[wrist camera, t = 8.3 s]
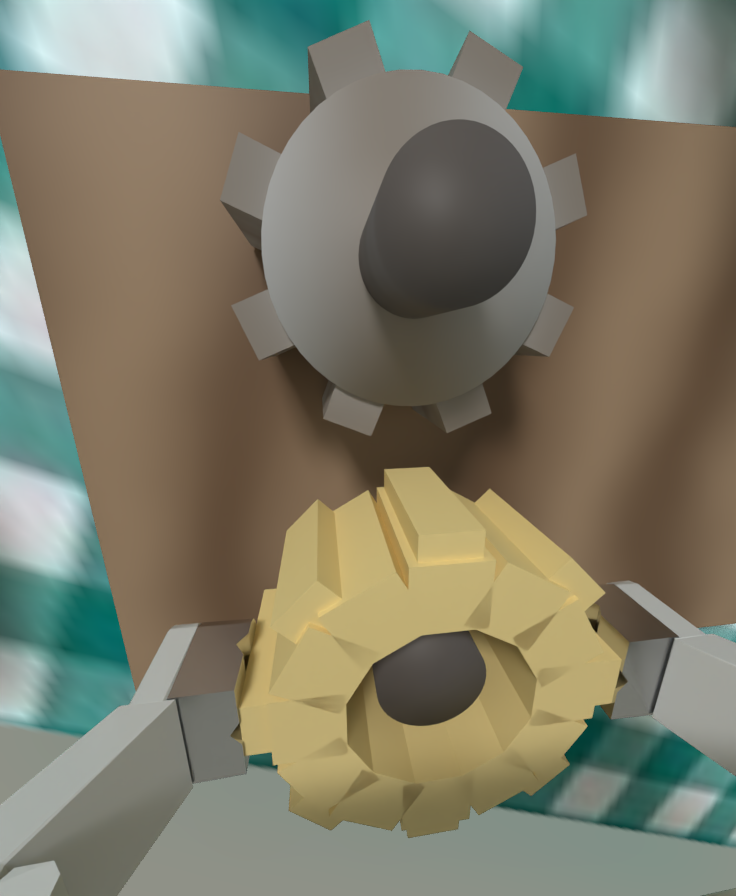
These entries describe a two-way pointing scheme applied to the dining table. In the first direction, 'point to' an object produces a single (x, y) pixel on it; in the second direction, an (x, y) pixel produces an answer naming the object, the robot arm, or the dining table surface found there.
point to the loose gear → (403, 620)
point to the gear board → (261, 418)
